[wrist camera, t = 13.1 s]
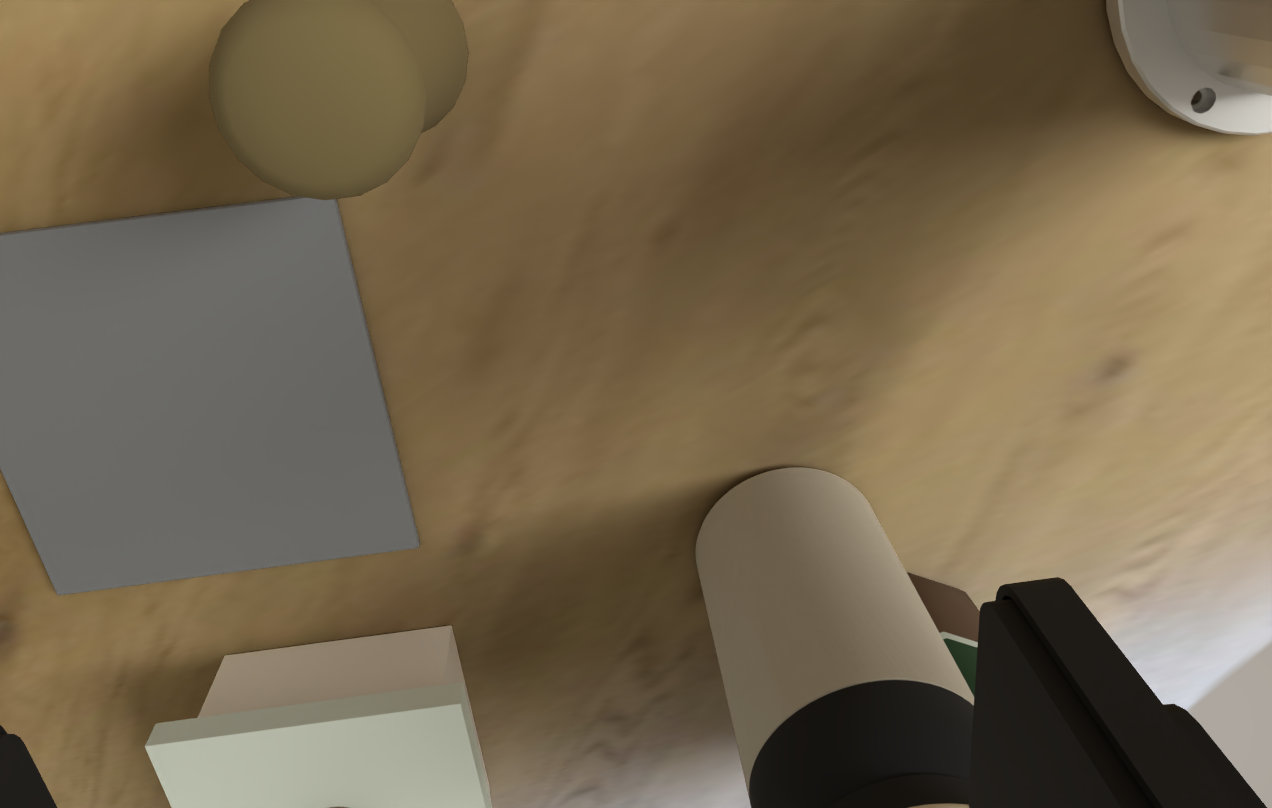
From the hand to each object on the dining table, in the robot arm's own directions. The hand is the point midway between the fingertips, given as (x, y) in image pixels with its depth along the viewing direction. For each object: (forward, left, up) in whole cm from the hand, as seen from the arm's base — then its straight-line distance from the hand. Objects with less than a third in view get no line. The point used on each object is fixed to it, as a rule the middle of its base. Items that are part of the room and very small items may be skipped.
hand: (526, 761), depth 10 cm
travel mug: (-8, +18, -28) cm, 35 cm away
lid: (+12, +25, -23) cm, 36 cm away
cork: (+5, -4, -28) cm, 29 cm away
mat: (+15, +8, -28) cm, 33 cm away
